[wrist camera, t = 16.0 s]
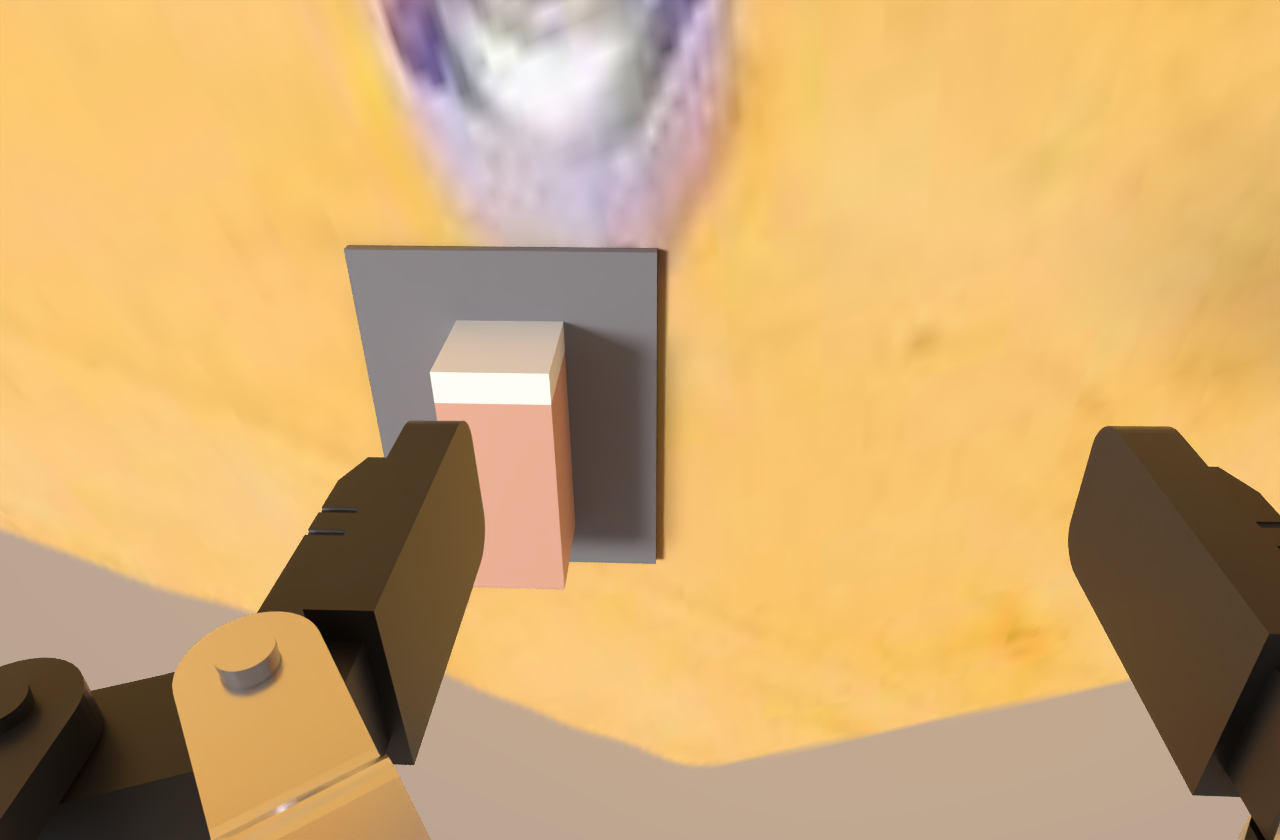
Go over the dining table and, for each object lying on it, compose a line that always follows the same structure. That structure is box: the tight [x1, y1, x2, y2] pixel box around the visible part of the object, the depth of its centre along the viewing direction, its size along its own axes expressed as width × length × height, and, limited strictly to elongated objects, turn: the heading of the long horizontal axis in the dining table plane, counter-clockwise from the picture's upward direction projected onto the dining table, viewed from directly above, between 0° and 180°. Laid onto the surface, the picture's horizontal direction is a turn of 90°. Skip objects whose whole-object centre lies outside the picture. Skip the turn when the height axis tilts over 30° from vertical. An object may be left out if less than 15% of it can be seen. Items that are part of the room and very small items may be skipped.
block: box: [430, 320, 575, 590], centre depth 42 cm, size 5×5×12 cm
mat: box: [344, 245, 657, 564], centre depth 44 cm, size 14×18×1 cm
